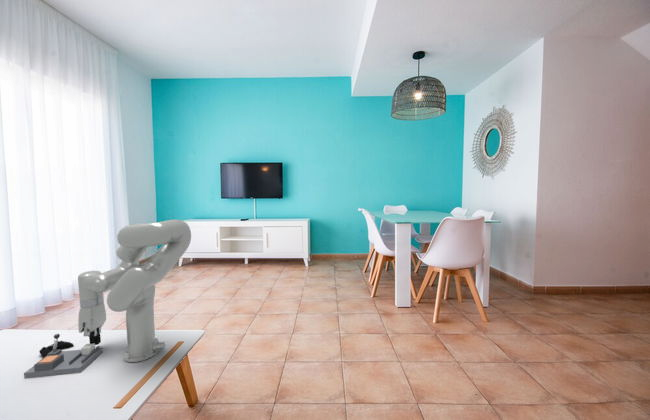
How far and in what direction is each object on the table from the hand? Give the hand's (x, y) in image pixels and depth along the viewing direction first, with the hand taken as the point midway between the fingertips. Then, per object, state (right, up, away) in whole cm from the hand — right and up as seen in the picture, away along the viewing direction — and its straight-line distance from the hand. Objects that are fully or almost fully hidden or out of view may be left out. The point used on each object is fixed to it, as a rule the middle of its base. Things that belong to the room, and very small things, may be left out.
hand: (95, 343), depth 115 cm
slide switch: (+1, -2, -4) cm, 4 cm away
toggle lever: (-13, 0, -5) cm, 13 cm away
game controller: (-18, -4, +1) cm, 18 cm away
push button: (-7, -2, -12) cm, 14 cm away
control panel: (-5, -4, -8) cm, 10 cm away
